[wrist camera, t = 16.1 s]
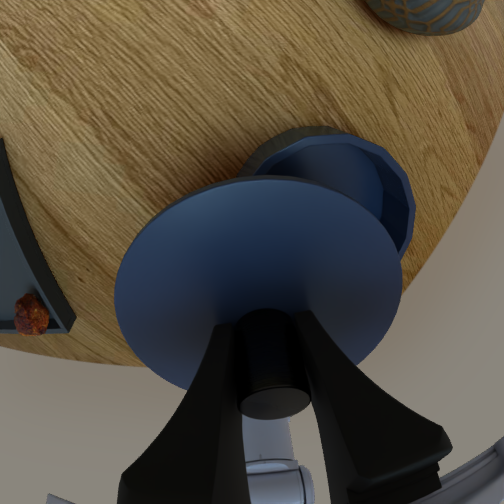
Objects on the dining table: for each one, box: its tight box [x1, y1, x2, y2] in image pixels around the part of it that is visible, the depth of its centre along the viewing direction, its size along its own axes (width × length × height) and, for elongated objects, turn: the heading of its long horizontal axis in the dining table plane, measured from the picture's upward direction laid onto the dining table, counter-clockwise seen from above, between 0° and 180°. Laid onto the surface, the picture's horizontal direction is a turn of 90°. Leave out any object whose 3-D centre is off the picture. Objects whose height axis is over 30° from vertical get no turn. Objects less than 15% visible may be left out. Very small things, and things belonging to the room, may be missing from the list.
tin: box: [236, 126, 416, 261], centre depth 17 cm, size 11×11×4 cm
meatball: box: [14, 293, 49, 336], centre depth 18 cm, size 4×4×4 cm
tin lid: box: [114, 175, 402, 420], centre depth 10 cm, size 12×12×5 cm
